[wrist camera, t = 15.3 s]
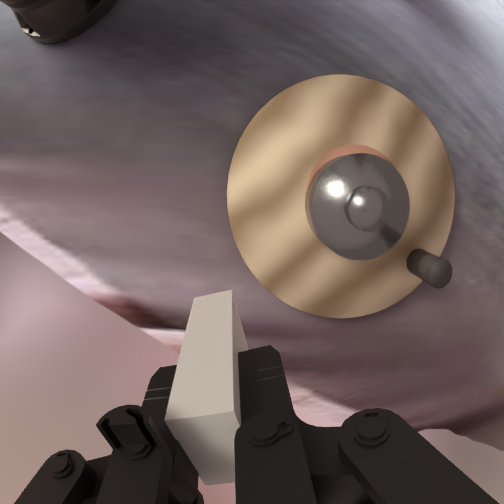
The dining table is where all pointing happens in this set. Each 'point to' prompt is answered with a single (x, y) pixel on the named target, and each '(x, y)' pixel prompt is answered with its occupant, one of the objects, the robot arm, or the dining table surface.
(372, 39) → the dining table surface
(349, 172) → the cover
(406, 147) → the turntable
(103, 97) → the dining table surface
